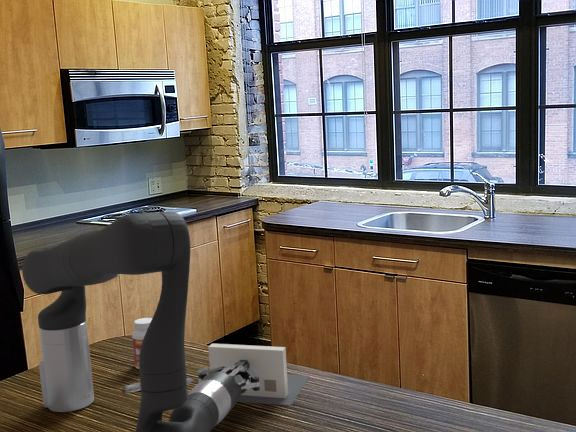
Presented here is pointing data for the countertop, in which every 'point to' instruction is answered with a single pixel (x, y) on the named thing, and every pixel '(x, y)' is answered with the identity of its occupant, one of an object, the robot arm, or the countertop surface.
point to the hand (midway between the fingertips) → (244, 364)
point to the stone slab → (137, 386)
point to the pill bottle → (139, 337)
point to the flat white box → (255, 366)
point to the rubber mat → (293, 390)
